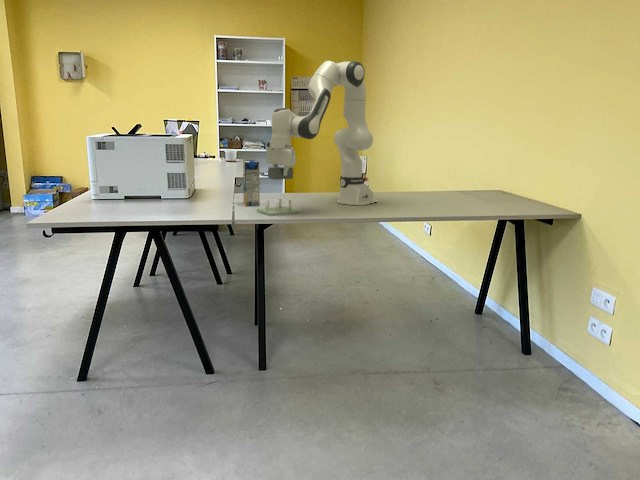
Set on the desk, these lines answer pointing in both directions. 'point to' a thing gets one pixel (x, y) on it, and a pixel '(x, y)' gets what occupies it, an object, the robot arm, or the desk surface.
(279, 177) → the block
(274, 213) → the green peg board
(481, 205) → the desk surface
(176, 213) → the desk surface
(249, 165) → the beverage box
